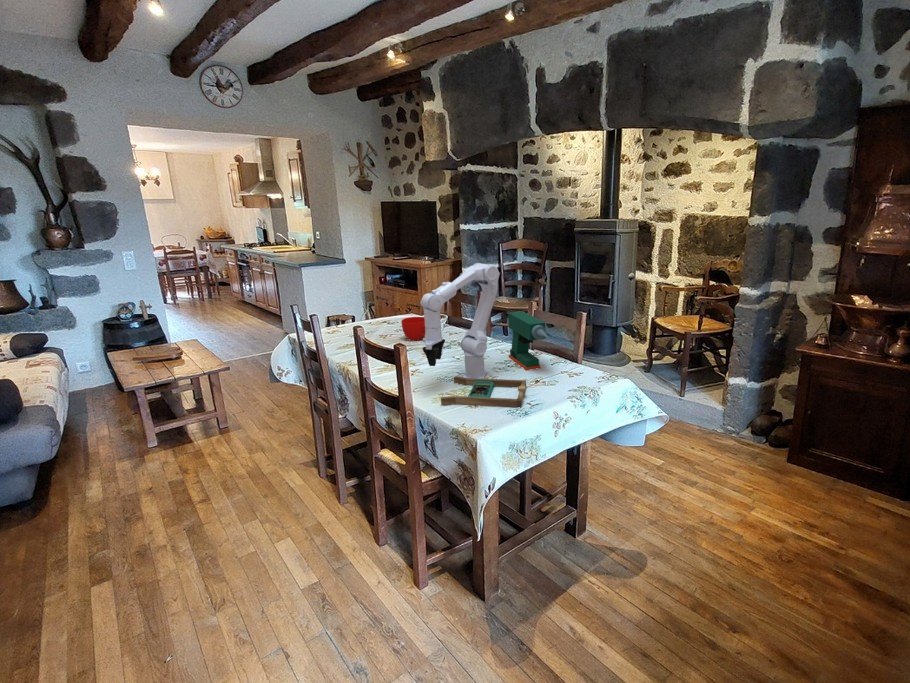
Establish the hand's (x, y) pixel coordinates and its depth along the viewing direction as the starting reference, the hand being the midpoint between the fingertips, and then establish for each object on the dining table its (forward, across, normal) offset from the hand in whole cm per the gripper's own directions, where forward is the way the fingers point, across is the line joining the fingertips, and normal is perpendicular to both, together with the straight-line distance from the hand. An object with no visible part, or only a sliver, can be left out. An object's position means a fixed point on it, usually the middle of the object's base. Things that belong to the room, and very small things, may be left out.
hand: (435, 362), depth 182 cm
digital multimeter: (+11, +4, +18) cm, 21 cm away
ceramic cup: (+10, -61, -26) cm, 67 cm away
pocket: (+10, +5, +19) cm, 22 cm away
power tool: (+10, -26, +33) cm, 43 cm away
